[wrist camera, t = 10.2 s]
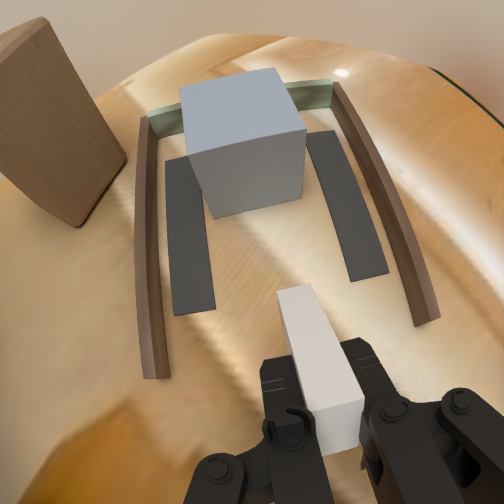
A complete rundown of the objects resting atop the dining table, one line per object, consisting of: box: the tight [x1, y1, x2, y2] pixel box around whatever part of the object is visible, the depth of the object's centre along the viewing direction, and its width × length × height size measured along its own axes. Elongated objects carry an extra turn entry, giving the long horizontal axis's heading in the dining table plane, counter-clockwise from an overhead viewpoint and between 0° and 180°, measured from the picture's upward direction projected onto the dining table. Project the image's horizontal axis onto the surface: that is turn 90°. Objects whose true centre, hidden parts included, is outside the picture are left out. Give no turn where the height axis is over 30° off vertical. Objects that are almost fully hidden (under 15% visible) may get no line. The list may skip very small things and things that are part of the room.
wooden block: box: [0, 17, 126, 226], centre depth 21 cm, size 10×10×20 cm
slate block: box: [180, 67, 307, 219], centre depth 24 cm, size 8×8×9 cm
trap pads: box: [165, 130, 389, 316], centre depth 27 cm, size 18×16×1 cm
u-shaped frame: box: [134, 79, 441, 379], centre depth 25 cm, size 22×26×4 cm
